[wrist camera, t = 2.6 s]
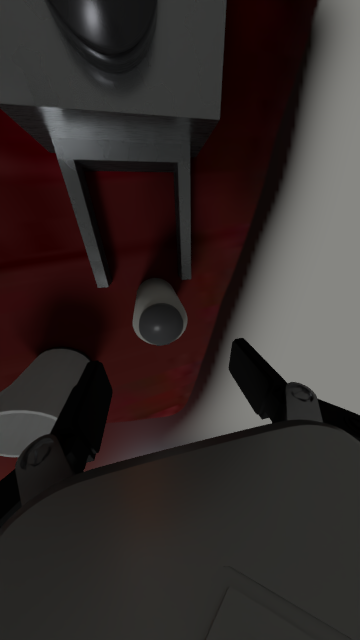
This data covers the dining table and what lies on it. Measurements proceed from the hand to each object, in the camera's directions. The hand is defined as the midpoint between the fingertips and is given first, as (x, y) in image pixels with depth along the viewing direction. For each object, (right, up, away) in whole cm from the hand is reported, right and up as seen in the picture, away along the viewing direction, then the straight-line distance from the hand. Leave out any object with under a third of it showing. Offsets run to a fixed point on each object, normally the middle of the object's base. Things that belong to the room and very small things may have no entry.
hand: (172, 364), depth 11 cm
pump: (-3, +7, +12) cm, 14 cm away
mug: (-19, -4, +14) cm, 24 cm away
